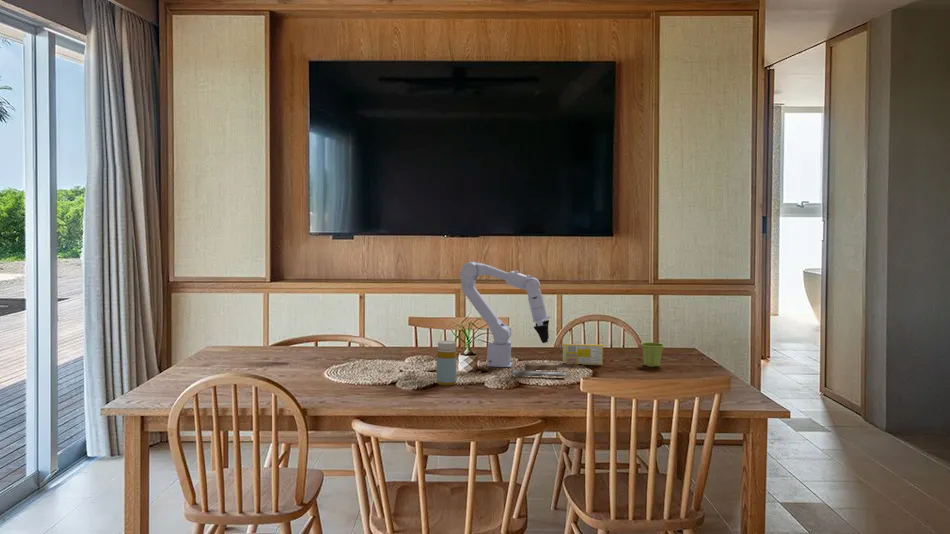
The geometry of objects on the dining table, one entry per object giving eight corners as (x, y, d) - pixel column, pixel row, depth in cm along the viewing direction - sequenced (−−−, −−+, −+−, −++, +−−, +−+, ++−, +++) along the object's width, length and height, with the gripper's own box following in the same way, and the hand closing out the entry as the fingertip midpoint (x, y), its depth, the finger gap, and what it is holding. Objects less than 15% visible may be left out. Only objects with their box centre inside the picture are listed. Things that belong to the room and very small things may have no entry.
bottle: (448, 387, 279) (449, 344, 277) (432, 384, 282) (433, 342, 281) (459, 383, 284) (460, 341, 283) (443, 380, 288) (444, 339, 287)
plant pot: (638, 366, 321) (638, 345, 320) (642, 362, 330) (643, 341, 329) (661, 368, 317) (662, 347, 317) (665, 364, 326) (666, 343, 325)
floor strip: (512, 376, 297) (512, 372, 297) (513, 373, 303) (513, 369, 303) (565, 379, 295) (565, 374, 295) (566, 376, 300) (566, 371, 300)
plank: (526, 373, 306) (526, 365, 306) (524, 370, 310) (524, 363, 310) (556, 372, 308) (557, 364, 307) (554, 370, 312) (554, 362, 311)
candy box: (602, 364, 324) (602, 344, 323) (602, 365, 322) (603, 345, 321) (562, 363, 325) (562, 343, 325) (562, 364, 323) (562, 344, 322)
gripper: (546, 307, 306) (554, 341, 307) (548, 303, 321) (556, 335, 321) (528, 311, 307) (537, 345, 308) (531, 306, 322) (539, 339, 322)
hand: (545, 340), depth 315 cm, fingers open, 7 cm apart
